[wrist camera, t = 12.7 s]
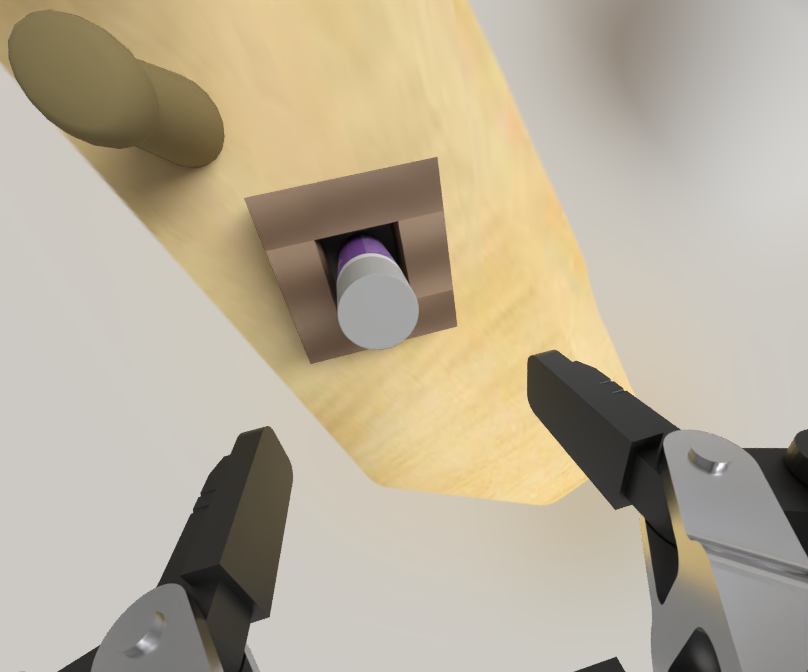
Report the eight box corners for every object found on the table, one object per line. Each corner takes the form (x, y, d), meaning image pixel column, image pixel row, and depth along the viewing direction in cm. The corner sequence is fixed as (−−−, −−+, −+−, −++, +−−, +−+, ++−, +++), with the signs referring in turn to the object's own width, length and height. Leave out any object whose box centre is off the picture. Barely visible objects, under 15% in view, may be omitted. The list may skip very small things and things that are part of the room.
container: (329, 245, 28) (317, 295, 15) (374, 223, 28) (401, 255, 15) (352, 288, 31) (359, 364, 17) (394, 268, 31) (432, 330, 17)
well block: (264, 196, 26) (243, 197, 21) (418, 163, 27) (437, 156, 22) (316, 335, 33) (310, 363, 27) (439, 304, 34) (457, 326, 28)
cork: (115, 112, 22) (-63, 53, 12) (168, 50, 21) (22, -65, 12) (190, 184, 25) (93, 182, 15) (241, 132, 24) (172, 94, 14)
